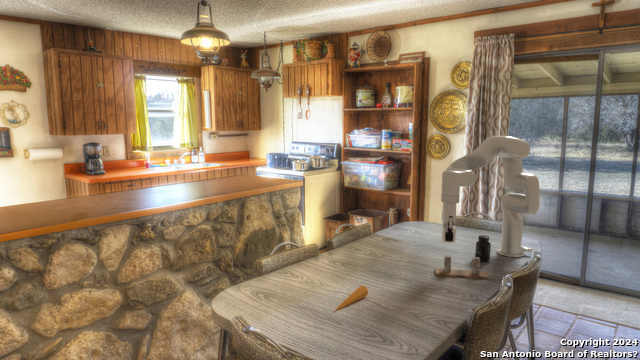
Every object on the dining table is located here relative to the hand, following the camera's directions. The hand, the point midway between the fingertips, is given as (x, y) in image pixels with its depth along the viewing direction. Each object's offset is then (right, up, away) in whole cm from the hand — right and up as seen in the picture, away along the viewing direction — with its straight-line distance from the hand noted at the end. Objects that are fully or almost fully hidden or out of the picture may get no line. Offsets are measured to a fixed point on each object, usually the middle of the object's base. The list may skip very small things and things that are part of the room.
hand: (448, 238), depth 179 cm
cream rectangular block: (0, -1, 0) cm, 1 cm away
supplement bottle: (+23, -14, +21) cm, 34 cm away
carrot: (-46, -20, -27) cm, 57 cm away
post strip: (+6, -16, +1) cm, 17 cm away
